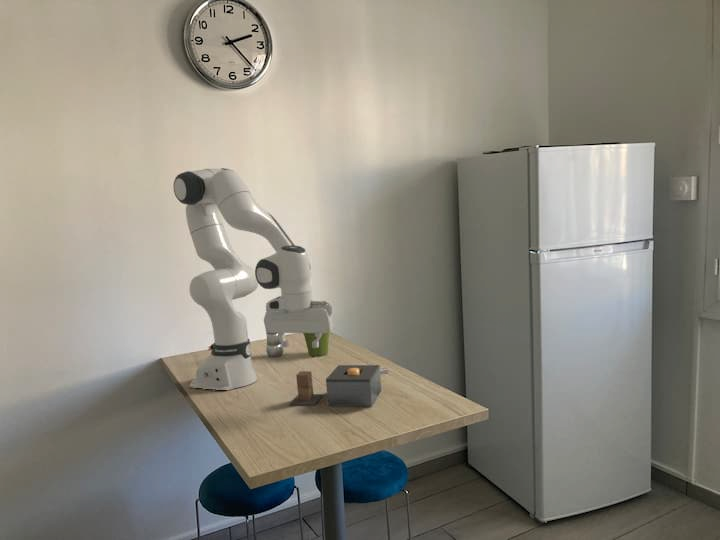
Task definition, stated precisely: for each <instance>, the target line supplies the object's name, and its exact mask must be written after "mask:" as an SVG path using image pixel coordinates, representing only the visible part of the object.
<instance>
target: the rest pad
mask: <svg viewBox="0 0 720 540" xmlns="http://www.w3.org/2000/svg"><path fill="white" fill-rule="evenodd" d="M313 395H314V397H313V398H312V399H311V401H299V398H298V394H297V395H296V396H295V397H294V398H293V399H292V400H291V401H290V402H289V403H288V405H289V406H300V407H301V406H302V407H303V406H304V407H305V406H310V407H312V406H316V405H317V404H318V403H319V402H320V401H321V399H323V397H324V394H323V393H322V394H321V393H316V394H315V393H313Z"/></svg>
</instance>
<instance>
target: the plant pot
mask: <svg viewBox="0 0 720 540" xmlns="http://www.w3.org/2000/svg"><path fill="white" fill-rule="evenodd" d="M302 334H303V336H304V340H305V343H306V348H307V352H308V354H309V356H311V357H313V356H316V357H318V356H319V357H323V356H322V355H324V356H326V355H327V354H328V352H329V341H330V332H329V333H322V336H321V337H320V339H319V347H318V348H313V347H312V342H313V341H315V340H316V338H317V337H315V333H302ZM325 354H326V355H325Z"/></svg>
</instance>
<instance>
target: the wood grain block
mask: <svg viewBox="0 0 720 540" xmlns="http://www.w3.org/2000/svg"><path fill="white" fill-rule="evenodd" d="M295 376H296V385H297V386H296V387H297V395H298V398H299V401H311V399H312V398H313V397H314V395H313V394H314V386H313V377H312V376H313V375H312V371H311V370H308V371H307V370H306V371H303V370H302V371H299V372H298V373H297V374H296V375H295Z"/></svg>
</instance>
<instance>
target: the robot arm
mask: <svg viewBox="0 0 720 540" xmlns="http://www.w3.org/2000/svg"><path fill="white" fill-rule="evenodd" d="M250 191H251V190H250V189H249V188H248V186H247V185H246V183H245V182H244V181H243V180H242V178H241V177H240V176H239V175H238V174H237V172H235V171H234V170H232V169H230V168H224V167H222V168H204V169H198V170H197V169H196V170H192V171H189V170H188V171H184V172H180V173H179V174H177V175H176V176H175V178H174V180H173V193H174V195H175V197H176V199H177V200H178V201H179V202H180V203H181V204H183V205H186V206H185V216H186V223H187V227H188V230H189V234H190V236H191V239H192V243H193V246H194V248H195V252H196V255H197V256H198V257H199V258H200V259H201V260H202V261H205V262H207V263H209V264H210V265H211V267H212V268H213V269H214V270H209V271H204V272H202V273H200V274H198V275H196V276H194V277H193V278H192V279H191V281H190V284H189V289H188V290H189V295H190V297H191V299H192V300H193V302H195V303H196V304H197V305H199V306H201V308H203V309H204V310H205V312H206V313H207V315H208V317H209V319H210V322H211V326H212V332H213V333H212V334H213V338H214V342H213V343H212V344H210V346H208V347H207V349H208V350H207V351H210V353H211V354H209V356H207V357H206V358H205V359H204V360H203V361H202V362H201V363H200V364H199V365H198V367H197V368H196V372H195V379H193V380H192V381H191V382H190V384H189V388H190V387H196V388H206V389H216V390H227V391H231V390H234V389H237V388H243V387H246V386H249V385H252V384H253V383H255V382H256V381H257V380H258V375H257V373H256V371H255V369H254V365H253V362H252V348H251V342H250V339H249V335H248V325H247V319H246V316H245V315H244V314H243V313H242V312H240V311H238V310H236V309H235V307H234V305H233V301H234V300H237V299H241V298H244V297H247V296H248V295H250V294H252V293H253V292H255V291H256V290H257V288H258V286H260V287H262V288H263V289H265V290H274V289H278V288H279V289H280V290H281V292H280V293H281V295H279V296H276V297H275V298H272V299H270V300H269V301H267V302H266V305H265V309H266V308H267V309H269V310H267V311H266V310H265V314H264V317H265V324H264V329H265V332H266V331H267V332H268V333H277V334H278V337H279V339H280V340H281V342H282V347H283V348H288V347H290V344H289V343H290V342H289V339H286V337H285V336H284V335H285V334H303V333H315V337H317V338H316V340H315V341H313V342H312V347H313V348H318V347H319V339H320V337H321V336H322V333H329V334H330V333H331V331H332V330H333V328H334V323H333V317H332V313H333V311H332V309H333V308H332V305H331V303H329V302H327V301H326V300H321V301H319V300H318V301H317V300H313V293H312V287H311V283H310V282H311V281H310V280H311V270H312V269H311V264H310V259H309V256H308V255H309V254H308V252H307V250H306V248H304V247H302V246H300V245H295V243H294V242H293V240H292V239H291V238H290V237H289V235H288V234H287V233H286V231H285V230H284V229H283V228H282V226H281V225H280V223H279V222H278V221H277V220H276V219H275V217H274V216H273V215H272V214H271V213H269V212H267V211H266V209H265V208H263V207H262V206H261V204H260V203H258V202H257V201H256V199H255V198H254V196H253V195H252V193H251V192H250ZM220 214H221V216H222V217H223V219H224V221H225V222H226V223H227V224H228V225H229V226H230V227H232V228H233V229H235V230H239V231H243V232H249V233H251V234H252V233H253V234H256V235H259V236H261V237H263V238H264V239H266V240H267V242H268V243H269V244H270V245H271V246H272V248H273V250H274V251H275V252H276V253H273V254H271V255H269V256H266V257H264V258H262V259H259V260H258V261H257V263H256V266H255V269H254V268H253V267H251V266H250V265H248V264H246V263H245V262H244V261H243V260H242V259H241V258H240V257H239V255H237V254H236V252H235V250H234V249H233V248H232V245H231V243H230V241H229V237H228V235H227V232H226V230H225V227H224V224H223V220H222V218H221V216H220Z"/></svg>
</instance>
